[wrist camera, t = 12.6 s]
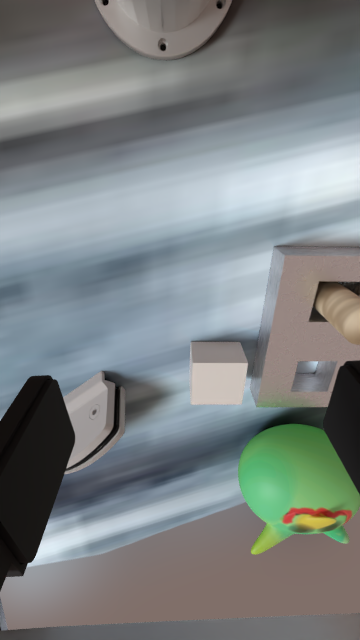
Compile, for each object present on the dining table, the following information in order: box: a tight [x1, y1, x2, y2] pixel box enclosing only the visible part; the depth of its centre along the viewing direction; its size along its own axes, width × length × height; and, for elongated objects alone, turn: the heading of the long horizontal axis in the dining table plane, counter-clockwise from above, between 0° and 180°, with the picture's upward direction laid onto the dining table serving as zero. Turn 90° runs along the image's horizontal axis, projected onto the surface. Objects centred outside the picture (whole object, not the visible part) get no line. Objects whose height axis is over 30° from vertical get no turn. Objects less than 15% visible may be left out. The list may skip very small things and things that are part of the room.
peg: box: [313, 281, 360, 345], centre depth 32 cm, size 4×4×10 cm
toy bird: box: [238, 424, 360, 554], centre depth 44 cm, size 18×17×15 cm
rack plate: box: [250, 247, 360, 407], centre depth 38 cm, size 22×14×4 cm, turn 179°
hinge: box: [63, 371, 125, 474], centre depth 43 cm, size 17×5×10 cm, turn 128°
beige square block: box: [189, 342, 248, 405], centre depth 40 cm, size 7×7×5 cm
